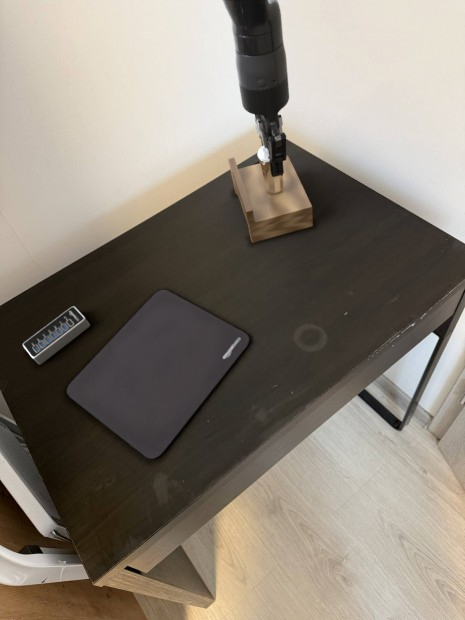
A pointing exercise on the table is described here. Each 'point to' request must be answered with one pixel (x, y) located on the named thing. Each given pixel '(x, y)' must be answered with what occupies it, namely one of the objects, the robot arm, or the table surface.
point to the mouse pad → (157, 371)
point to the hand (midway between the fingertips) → (273, 165)
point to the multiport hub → (56, 335)
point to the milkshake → (269, 173)
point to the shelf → (271, 202)
